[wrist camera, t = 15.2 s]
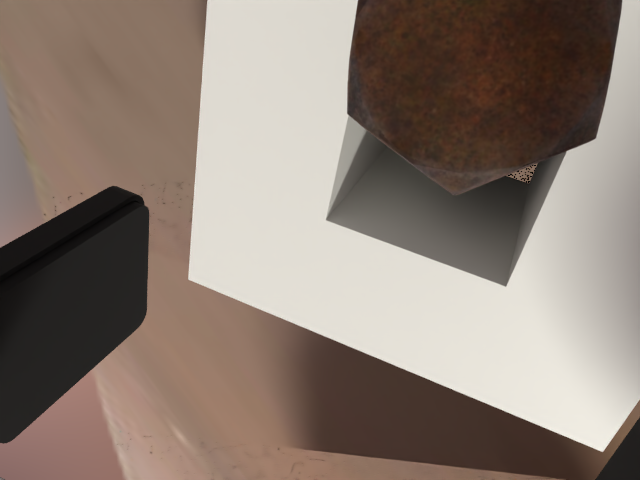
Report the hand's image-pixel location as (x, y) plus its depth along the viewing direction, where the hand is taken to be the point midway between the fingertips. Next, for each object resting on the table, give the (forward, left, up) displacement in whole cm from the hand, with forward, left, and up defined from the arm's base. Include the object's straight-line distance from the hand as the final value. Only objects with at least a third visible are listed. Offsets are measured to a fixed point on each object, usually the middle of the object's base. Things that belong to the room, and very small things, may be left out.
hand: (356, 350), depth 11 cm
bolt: (0, +1, -18) cm, 18 cm away
